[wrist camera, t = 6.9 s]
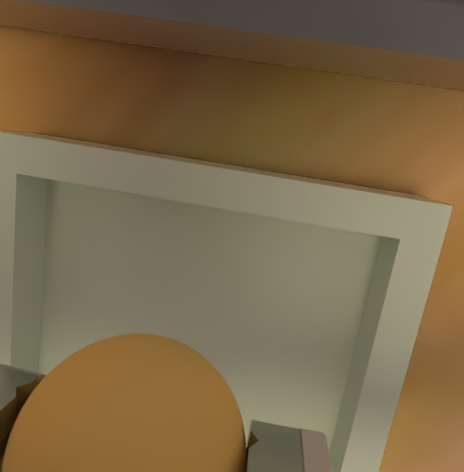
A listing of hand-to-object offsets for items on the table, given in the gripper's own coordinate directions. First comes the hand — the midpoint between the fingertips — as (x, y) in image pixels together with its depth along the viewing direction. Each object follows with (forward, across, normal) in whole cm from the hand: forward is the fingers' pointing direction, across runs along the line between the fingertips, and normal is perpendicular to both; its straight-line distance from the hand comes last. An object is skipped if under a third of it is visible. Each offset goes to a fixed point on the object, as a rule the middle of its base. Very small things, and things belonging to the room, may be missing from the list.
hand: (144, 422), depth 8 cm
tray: (+5, 0, 0) cm, 5 cm away
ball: (+2, 0, 0) cm, 2 cm away
